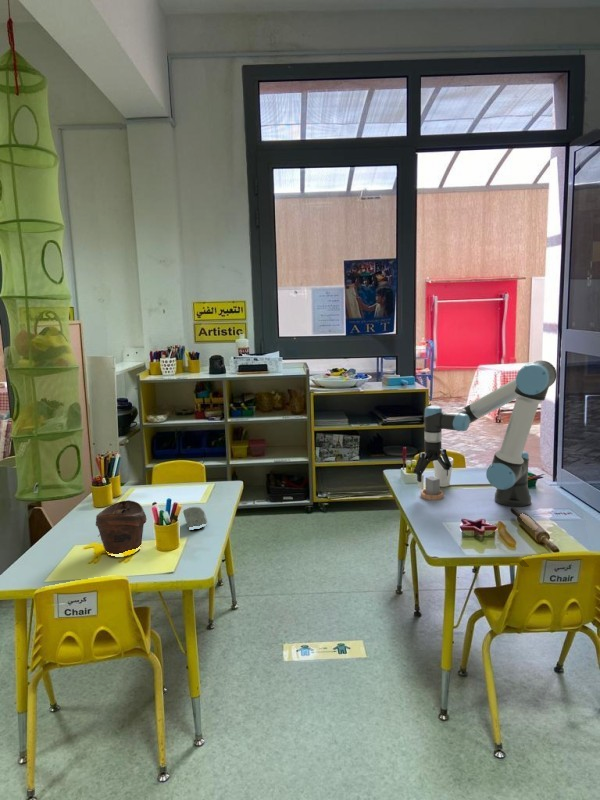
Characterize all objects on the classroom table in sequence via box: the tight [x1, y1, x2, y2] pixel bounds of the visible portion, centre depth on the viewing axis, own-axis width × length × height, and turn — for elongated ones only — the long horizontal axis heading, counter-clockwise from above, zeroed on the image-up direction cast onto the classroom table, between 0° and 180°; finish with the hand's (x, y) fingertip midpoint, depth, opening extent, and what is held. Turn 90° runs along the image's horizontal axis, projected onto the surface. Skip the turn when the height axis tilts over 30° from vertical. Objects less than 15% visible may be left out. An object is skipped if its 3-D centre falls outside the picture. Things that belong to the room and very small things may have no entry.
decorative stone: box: [182, 506, 208, 528], centre depth 229 cm, size 13×11×10 cm
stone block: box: [424, 475, 441, 495], centre depth 255 cm, size 5×4×8 cm
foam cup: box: [432, 455, 454, 488], centre depth 270 cm, size 10×9×13 cm
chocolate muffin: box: [95, 499, 148, 559], centre depth 207 cm, size 18×20×18 cm
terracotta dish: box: [420, 488, 445, 501], centre depth 255 cm, size 10×10×2 cm
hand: (432, 485), depth 254 cm, fingers open, 13 cm apart
